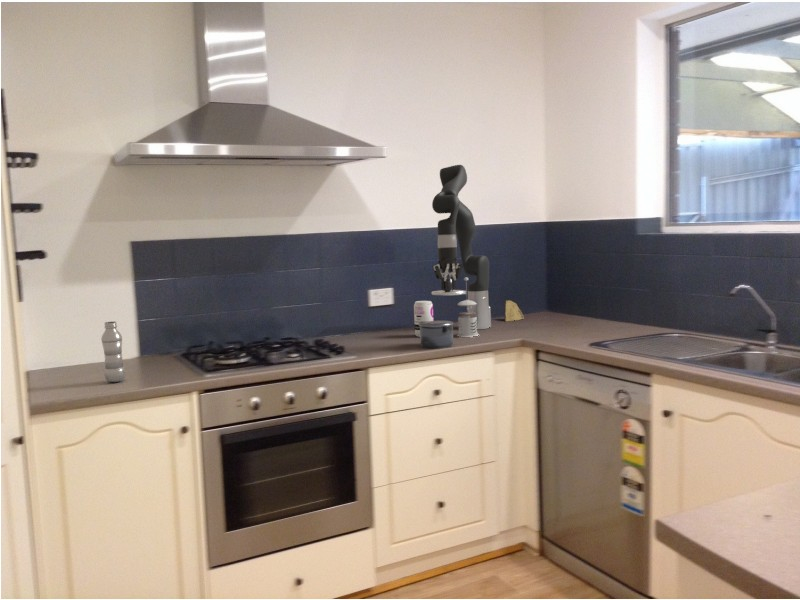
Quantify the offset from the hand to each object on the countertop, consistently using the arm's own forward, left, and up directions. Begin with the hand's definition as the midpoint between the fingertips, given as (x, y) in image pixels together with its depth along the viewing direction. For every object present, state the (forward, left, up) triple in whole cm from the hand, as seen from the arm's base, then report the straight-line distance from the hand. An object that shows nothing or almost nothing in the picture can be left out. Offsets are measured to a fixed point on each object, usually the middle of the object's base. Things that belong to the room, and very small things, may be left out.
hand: (448, 290), depth 266 cm
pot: (+5, -2, -22) cm, 22 cm away
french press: (-19, -13, -22) cm, 32 cm away
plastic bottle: (+121, -22, -22) cm, 125 cm away
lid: (0, 0, -2) cm, 2 cm away
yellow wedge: (-63, -34, -22) cm, 75 cm away
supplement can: (-5, -26, -22) cm, 34 cm away
